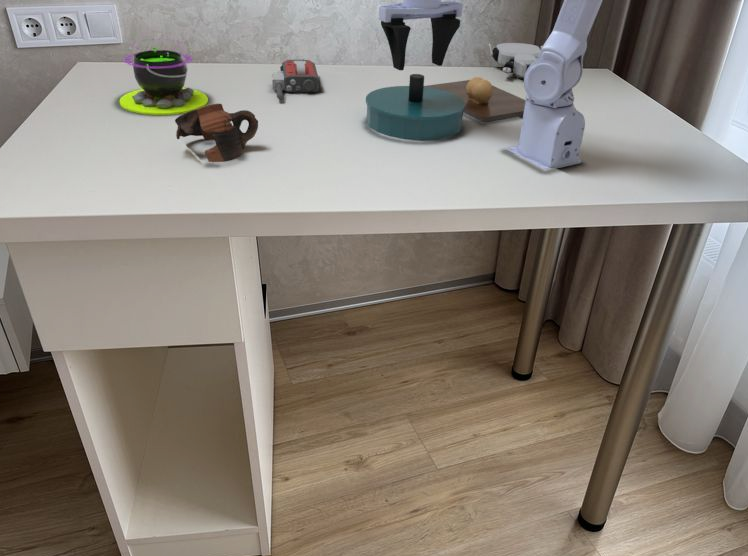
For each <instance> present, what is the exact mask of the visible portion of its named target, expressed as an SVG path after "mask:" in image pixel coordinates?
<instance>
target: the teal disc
mask: <svg viewBox="0 0 748 556" xmlns="http://www.w3.org/2000/svg"><path fill="white" fill-rule="evenodd" d="M424 86H425V75H424V74H421V73H420V74H419V73H412V74H410V75H409V83H408V85H395V86H386V87H381V88H377V89H375V90H372V91H370V92H368V93H367V94H366V96H365V104H366V107H367V106H369V107H370V108H371V109H373V110H374V111H376V112H379V113H381V114H385V115H388V116H392V117H397V118H403V119H412V120H437V119H445V118H450V117H453V116H456V115H458V114H460V113H462V112H463V111H464V109H465V102H464V101H463V100H462V99H461V98H460V97H458V96H456V95H454V94H452V93H449V92H446V91H443V90H439V89H434V88H428V87H424ZM463 113H464V112H463Z"/></svg>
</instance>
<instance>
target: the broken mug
mask: <svg viewBox="0 0 748 556" xmlns="http://www.w3.org/2000/svg"><path fill="white" fill-rule="evenodd" d="M243 121H247V123H248V126H247V129H246V131H244V132H243V131H242V130H241V125H242V123H243ZM174 122H175V124H176V125H177V129H176V132H175V133H176V134H175V136H176V140H180V138H181V137H182V138H186V137H190V136H193V137H201V136H202V137H203V140H205V141H214V142H215V145H214V146H213V147H210V148H209V149H206V150H204V155H205V157H206V159H207V161H208V162H209V163H222V162H226V161H230V160H231V161H232V160H234V159H237V158H239V157H240V156H242V153H243V149H244V148H245V147H246V144H247V143H248V142H249V141H251V140H252V139H253V138H254V137H256V134H257V131H258V129H259V120H258V119H257V118H256V115H255V114H254V113H253V112H252V111H250V110H247V109H243V110H239V111H236V112H228V111H225V109H224V107H223V104H222V103H212V104H211V103H210V104H207V105H205V106H204V107H200V108H198V109H194V110H191V111H189V112H187V113H182V114H181V115H179V116H178V117H176V118H175V119H174Z"/></svg>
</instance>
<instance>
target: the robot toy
mask: <svg viewBox="0 0 748 556" xmlns="http://www.w3.org/2000/svg"><path fill="white" fill-rule="evenodd" d="M542 47H543V45H540V47H539V46H538V45H534V44H530V43H523V42H502V43H499V44H497V45H496V47H493V49H492V46H491V43H489V44H488V48H489V51H490V57H492V58H493V60H494V61H495V62H496V63H497V64H498V65H500V66H501V67H502V72H503V73H505V74H512V72H513V73H514V75H515V76H516V78H518V79H524V77H525V73H526V71H527V69H528V68H529V66H530V65H531V64H532V63H533V62H535V61H536V59H537V58H538V56H539V54H540V52H541V49H542Z"/></svg>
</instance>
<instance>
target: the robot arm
mask: <svg viewBox="0 0 748 556" xmlns="http://www.w3.org/2000/svg"><path fill="white" fill-rule="evenodd" d="M602 3H603V0H563V3H562V5H561V7H560V10H559V14H558V15H557V19H556V21H555V24H554V27H553V29H552V31H551V33H550V35H549V36H548V38H547V39H546V40H545V42H544V44H543V45H542V49H541V48H540V49H541V52H540V54H539V56H538V58H537V59H536V61H535V62H533V63H532V64H531V65H530V66H529V68H528V69H527V71H526V73H525V77H524V78H523V87H524V90H525V93H526V94H525V95H526V96H525V100H526V101H525V107H524V114H523V118H522V121H521V127H520V134H519V140H518V145H513V146H510V147H509V146H508V147H506V148H505V149H506V150H507V151H509V152H511V153H513V154H515V155H517V156H518V157H521V158H523V159H524V160H526V161H528V162H530V163H532V164H534V165H535V166H538V167H539V168H541V169H544V170H547V169H552V168H555V169H560V168H565V167H569V166H575V165H578V164H579V165H580V164H581V163H582V160H581V159H580V158H579V156H580V151H581V147H582V143H583V137H584V133H585V128H586V119H585V116H584V114H583V113H581V112H580V111H579V110H577V108H576V107H575V104H574V102H575V96H574V92H573V89H574V88H575V87H576V86H577V85H578V84H579V82H580V81H581V79H582V77H583V72H584V63H583V60H584V56H585V53H586V51H587V48H588V44H587V42H588V41H587V40H588V37H589V34H590V32H591V30H592V27H593V25H594V23H595V20H596V17H597V15H598V12H599V11H600V7H601V5H602ZM463 6H464V4H463V2H459V1H455V0H454V1H453V0H452V1H442V0H403V2H398V3H394V4H387V5H379V6H378V21H380V26H381V28H382V31H383V33H384V34H385V37H386V40H387V43H388V46H389V50H390V54H391V61H392V65H393V68H394V69H396V70H398V71H404V69H405V64H406V51H407V43H408V39H409V36H410V33H411V30H412V28H411V26H410V25H407V24H406V22H405V21H408V20H409V21H410V20H423V19H430V23H431V25H430V26H431V33H432V36H431V37H432V43H431V63H432V64H433V65H436V66H437V67H441V66H443V63H444V60H445V57H446V54H447V51H448V48H449V47H450V44H451V42H452V40H453V38H454V36H455V34H456V33H457V31H458V30H459V28H460V27H461V19H459V18H460V17H463V8H464V7H463Z"/></svg>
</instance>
